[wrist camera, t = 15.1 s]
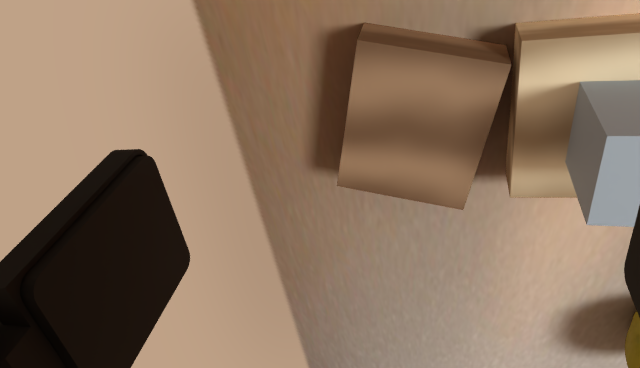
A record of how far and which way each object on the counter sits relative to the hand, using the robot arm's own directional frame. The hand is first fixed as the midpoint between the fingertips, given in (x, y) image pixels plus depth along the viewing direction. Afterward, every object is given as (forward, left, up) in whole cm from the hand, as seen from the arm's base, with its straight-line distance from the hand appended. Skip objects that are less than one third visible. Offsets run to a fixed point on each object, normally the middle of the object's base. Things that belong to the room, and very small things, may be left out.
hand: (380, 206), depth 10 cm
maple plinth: (+12, +12, -29) cm, 33 cm away
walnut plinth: (+12, -1, -29) cm, 31 cm away
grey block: (+12, +12, -25) cm, 30 cm away
